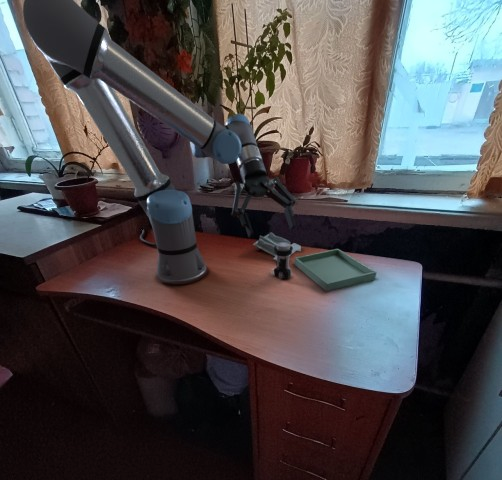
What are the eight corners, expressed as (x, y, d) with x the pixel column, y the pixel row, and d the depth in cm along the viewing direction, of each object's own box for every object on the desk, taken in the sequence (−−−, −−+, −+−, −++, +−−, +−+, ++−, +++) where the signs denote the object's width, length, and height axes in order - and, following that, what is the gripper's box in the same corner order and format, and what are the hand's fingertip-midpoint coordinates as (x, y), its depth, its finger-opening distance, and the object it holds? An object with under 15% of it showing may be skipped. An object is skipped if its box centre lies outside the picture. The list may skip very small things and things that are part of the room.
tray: (294, 264, 100) (294, 257, 99) (337, 255, 104) (338, 248, 103) (326, 291, 86) (327, 283, 84) (374, 279, 90) (376, 272, 88)
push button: (266, 277, 94) (266, 245, 87) (275, 270, 97) (275, 239, 91) (286, 282, 91) (287, 249, 85) (294, 274, 94) (296, 242, 88)
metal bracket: (248, 240, 102) (271, 226, 112) (245, 255, 106) (267, 240, 116) (285, 259, 99) (305, 243, 108) (280, 274, 103) (300, 257, 112)
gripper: (284, 170, 101) (304, 230, 99) (210, 180, 94) (230, 245, 92) (292, 153, 94) (314, 218, 92) (213, 163, 87) (234, 232, 85)
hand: (272, 231), depth 92 cm, fingers open, 13 cm apart
